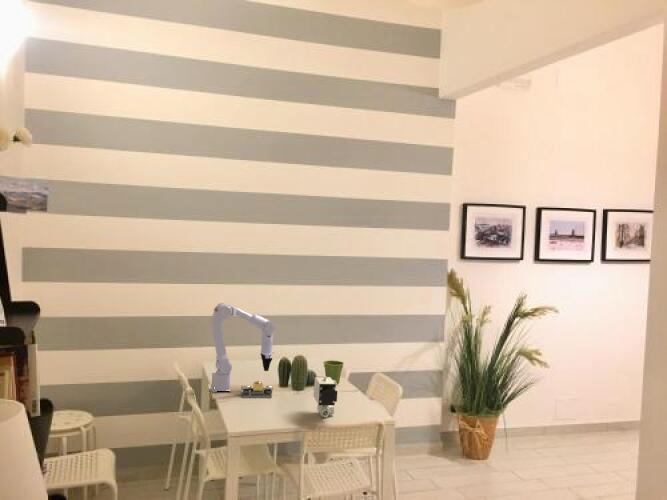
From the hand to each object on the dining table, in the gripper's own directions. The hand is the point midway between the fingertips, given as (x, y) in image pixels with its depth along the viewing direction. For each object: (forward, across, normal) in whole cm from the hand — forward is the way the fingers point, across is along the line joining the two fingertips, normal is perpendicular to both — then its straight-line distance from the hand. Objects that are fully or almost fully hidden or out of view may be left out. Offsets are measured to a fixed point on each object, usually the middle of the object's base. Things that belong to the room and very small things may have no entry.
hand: (265, 369), depth 317 cm
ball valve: (+10, -45, -24) cm, 52 cm away
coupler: (+9, -13, +4) cm, 17 cm away
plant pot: (+10, +12, -38) cm, 41 cm away
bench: (+10, -13, +5) cm, 17 cm away
